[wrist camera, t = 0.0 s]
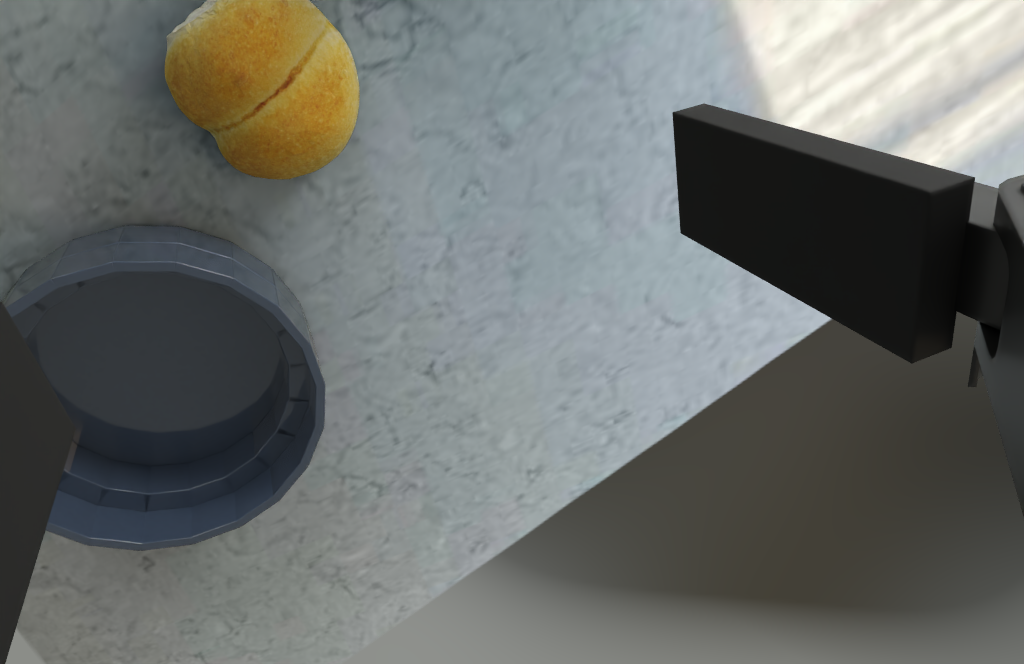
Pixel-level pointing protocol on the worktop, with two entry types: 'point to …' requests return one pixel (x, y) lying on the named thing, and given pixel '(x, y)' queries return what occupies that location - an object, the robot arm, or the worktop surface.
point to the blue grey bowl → (170, 383)
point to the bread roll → (265, 83)
